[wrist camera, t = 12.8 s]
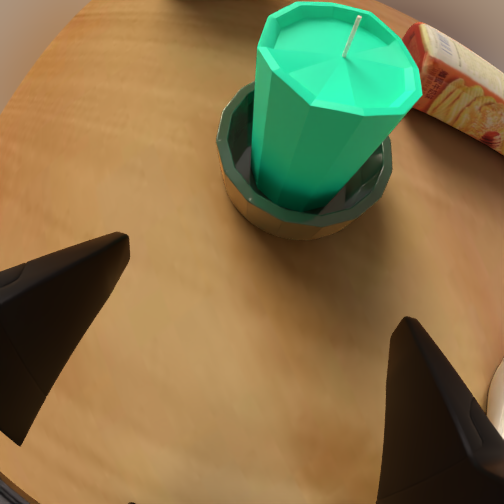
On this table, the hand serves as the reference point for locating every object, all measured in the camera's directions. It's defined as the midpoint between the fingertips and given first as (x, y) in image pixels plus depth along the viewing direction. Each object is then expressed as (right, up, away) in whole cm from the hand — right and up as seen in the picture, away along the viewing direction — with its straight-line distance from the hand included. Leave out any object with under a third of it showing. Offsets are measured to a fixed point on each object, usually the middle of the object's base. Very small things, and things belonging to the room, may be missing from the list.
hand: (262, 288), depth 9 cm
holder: (+3, +6, +10) cm, 12 cm away
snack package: (+21, +13, +12) cm, 27 cm away
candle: (+3, +6, +10) cm, 12 cm away
